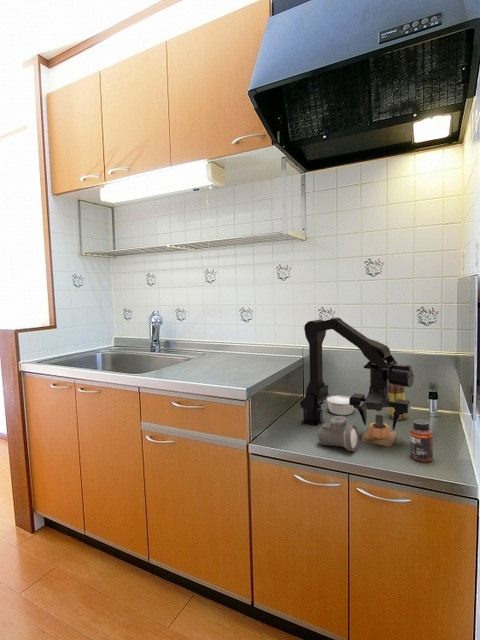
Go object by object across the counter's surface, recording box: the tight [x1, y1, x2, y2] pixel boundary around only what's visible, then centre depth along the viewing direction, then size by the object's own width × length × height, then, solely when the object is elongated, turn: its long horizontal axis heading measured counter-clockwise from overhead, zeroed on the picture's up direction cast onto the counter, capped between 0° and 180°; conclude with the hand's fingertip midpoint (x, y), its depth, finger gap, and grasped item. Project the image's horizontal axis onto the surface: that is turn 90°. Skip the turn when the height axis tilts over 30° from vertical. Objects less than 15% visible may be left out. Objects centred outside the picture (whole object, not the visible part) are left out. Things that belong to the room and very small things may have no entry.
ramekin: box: [326, 395, 355, 416], centre depth 151 cm, size 11×11×5 cm
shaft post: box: [361, 414, 397, 448], centre depth 123 cm, size 9×9×8 cm
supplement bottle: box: [409, 418, 434, 463], centre depth 108 cm, size 6×6×11 cm
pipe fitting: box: [317, 415, 359, 452], centre depth 118 cm, size 12×8×10 cm
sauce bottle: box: [387, 381, 407, 421], centre depth 141 cm, size 7×6×20 cm
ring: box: [368, 421, 391, 438], centre depth 123 cm, size 6×6×3 cm
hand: (379, 427), depth 123 cm, fingers open, 9 cm apart
